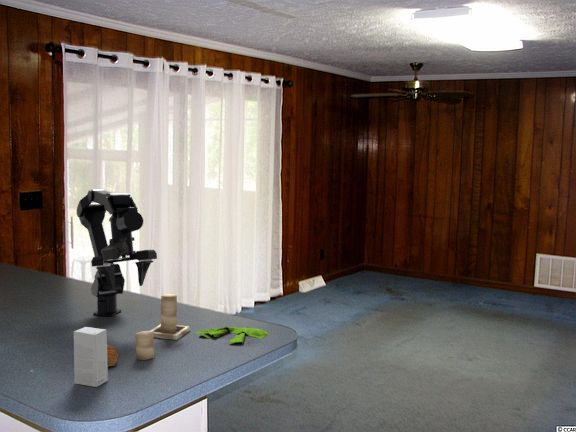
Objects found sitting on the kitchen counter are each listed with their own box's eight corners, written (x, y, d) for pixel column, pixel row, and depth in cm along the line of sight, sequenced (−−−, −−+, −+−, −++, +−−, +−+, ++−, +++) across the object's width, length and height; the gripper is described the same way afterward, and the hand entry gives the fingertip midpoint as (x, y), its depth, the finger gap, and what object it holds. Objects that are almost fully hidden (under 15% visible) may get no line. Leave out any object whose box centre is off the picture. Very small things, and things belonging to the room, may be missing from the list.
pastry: (123, 366, 141) (123, 351, 140) (95, 372, 137) (95, 356, 137) (112, 354, 149) (112, 340, 148) (85, 359, 145) (84, 344, 144)
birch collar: (161, 327, 172) (161, 323, 171) (189, 330, 169) (190, 326, 169) (147, 336, 163) (147, 332, 163) (176, 339, 161) (176, 335, 161)
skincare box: (108, 380, 131) (107, 329, 130) (96, 387, 127) (95, 334, 126) (86, 376, 133) (85, 326, 132) (73, 383, 129) (72, 331, 128)
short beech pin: (137, 354, 149) (135, 331, 148) (155, 353, 149) (153, 330, 149) (135, 360, 144) (134, 337, 144) (154, 358, 145) (152, 335, 144)
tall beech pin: (160, 331, 168) (161, 294, 167) (176, 330, 169) (176, 293, 168) (160, 336, 164) (160, 297, 162) (176, 335, 164) (177, 297, 163)
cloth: (278, 334, 169) (278, 326, 169) (236, 357, 150) (236, 348, 150) (221, 323, 179) (221, 315, 179) (174, 342, 160) (174, 334, 160)
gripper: (77, 238, 167) (82, 293, 165) (136, 230, 162) (141, 286, 161) (99, 238, 177) (104, 290, 176) (155, 230, 173) (160, 283, 171)
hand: (126, 287), depth 171 cm, fingers open, 9 cm apart
